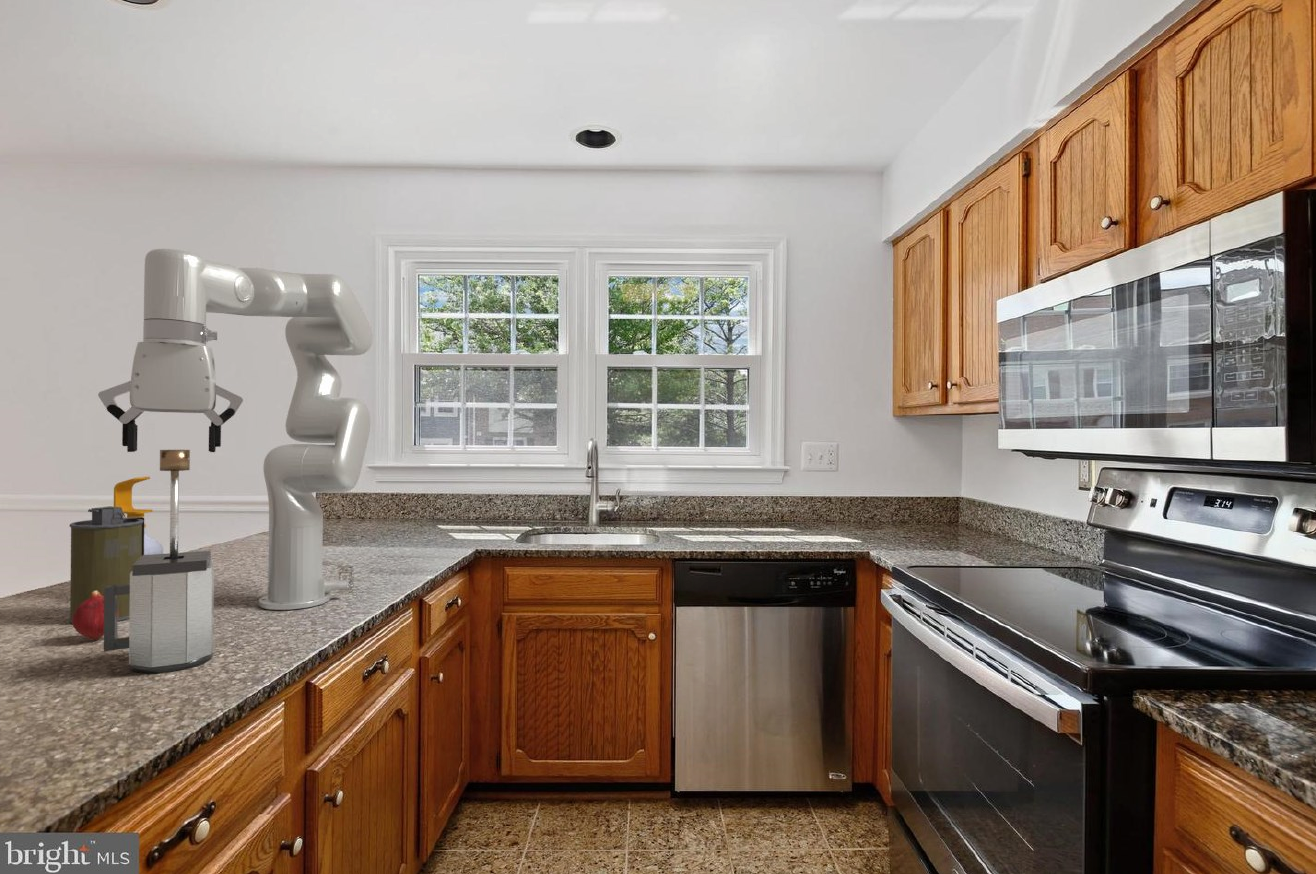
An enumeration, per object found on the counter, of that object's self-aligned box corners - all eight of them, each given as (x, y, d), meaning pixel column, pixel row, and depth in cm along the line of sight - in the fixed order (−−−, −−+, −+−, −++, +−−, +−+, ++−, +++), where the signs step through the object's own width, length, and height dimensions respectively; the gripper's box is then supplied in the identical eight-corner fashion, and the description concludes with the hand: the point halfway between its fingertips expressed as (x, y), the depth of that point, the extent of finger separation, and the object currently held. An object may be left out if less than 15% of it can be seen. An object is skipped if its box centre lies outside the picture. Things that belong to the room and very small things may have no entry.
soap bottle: (139, 604, 131) (140, 478, 131) (93, 603, 131) (94, 478, 131) (173, 593, 140) (174, 475, 140) (130, 592, 140) (131, 475, 140)
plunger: (202, 574, 104) (203, 449, 104) (198, 583, 98) (199, 450, 98) (149, 579, 101) (150, 449, 101) (142, 588, 95) (143, 450, 95)
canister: (92, 627, 116) (93, 512, 115) (54, 621, 119) (55, 508, 119) (158, 612, 126) (159, 505, 126) (121, 606, 129) (122, 503, 129)
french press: (214, 647, 106) (215, 549, 106) (210, 666, 98) (211, 560, 98) (111, 660, 100) (112, 556, 100) (97, 681, 92) (98, 568, 91)
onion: (127, 637, 111) (127, 588, 111) (87, 647, 106) (88, 596, 106) (103, 633, 113) (103, 585, 113) (63, 643, 107) (63, 593, 107)
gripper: (244, 344, 107) (242, 451, 107) (105, 333, 98) (103, 451, 98) (243, 338, 100) (241, 452, 100) (94, 326, 92) (92, 452, 92)
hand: (173, 451), depth 99 cm, fingers open, 9 cm apart
